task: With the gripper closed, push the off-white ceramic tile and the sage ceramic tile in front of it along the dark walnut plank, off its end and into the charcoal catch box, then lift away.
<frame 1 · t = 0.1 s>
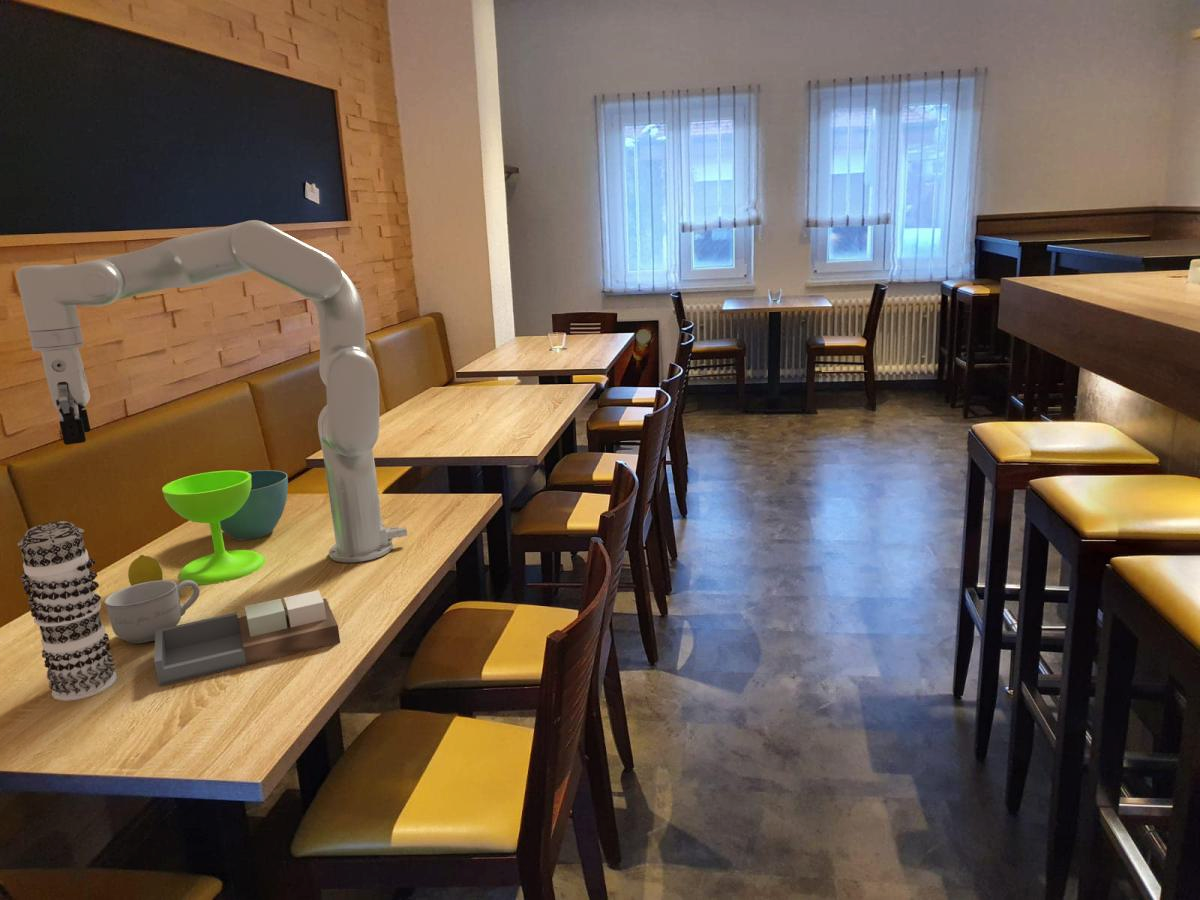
hand: (78, 437, 149), 31 cm above the table, tool pointing down, fingers open, 9 cm apart
catch box: (202, 659, 134), on the table
teacup: (160, 633, 144), on the table
wineglass: (223, 569, 171), on the table
plant pot: (252, 534, 191), on the table
white tile: (306, 616, 140), point 3 cm above the table, touching walnut plank
decorative candle: (85, 686, 128), on the table
sage tile: (267, 625, 137), point 3 cm above the table, touching walnut plank
lemon: (149, 596, 160), on the table
walnut plank: (289, 638, 139), on the table
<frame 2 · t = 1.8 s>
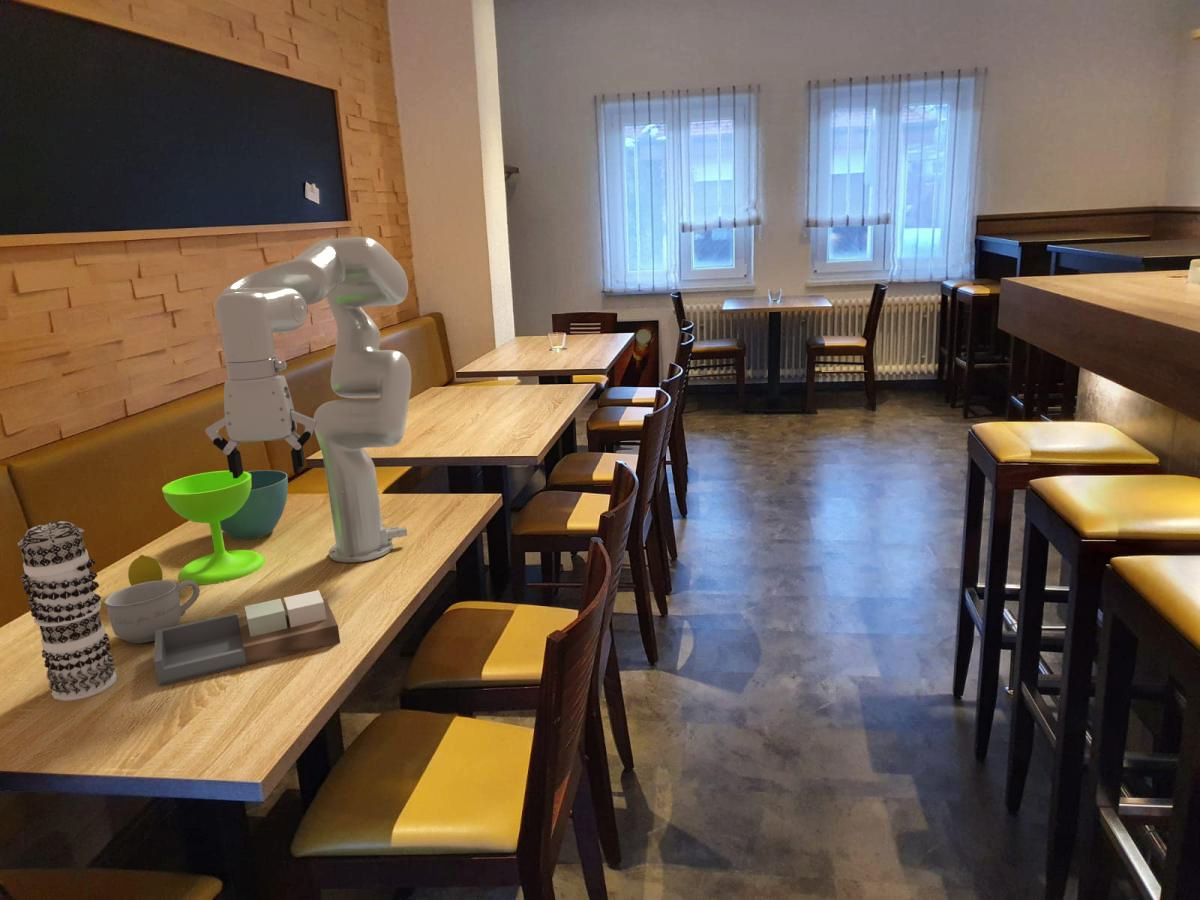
hand: (268, 473, 141), 25 cm above the table, tool pointing down, fingers open, 9 cm apart
nothing on the table moved.
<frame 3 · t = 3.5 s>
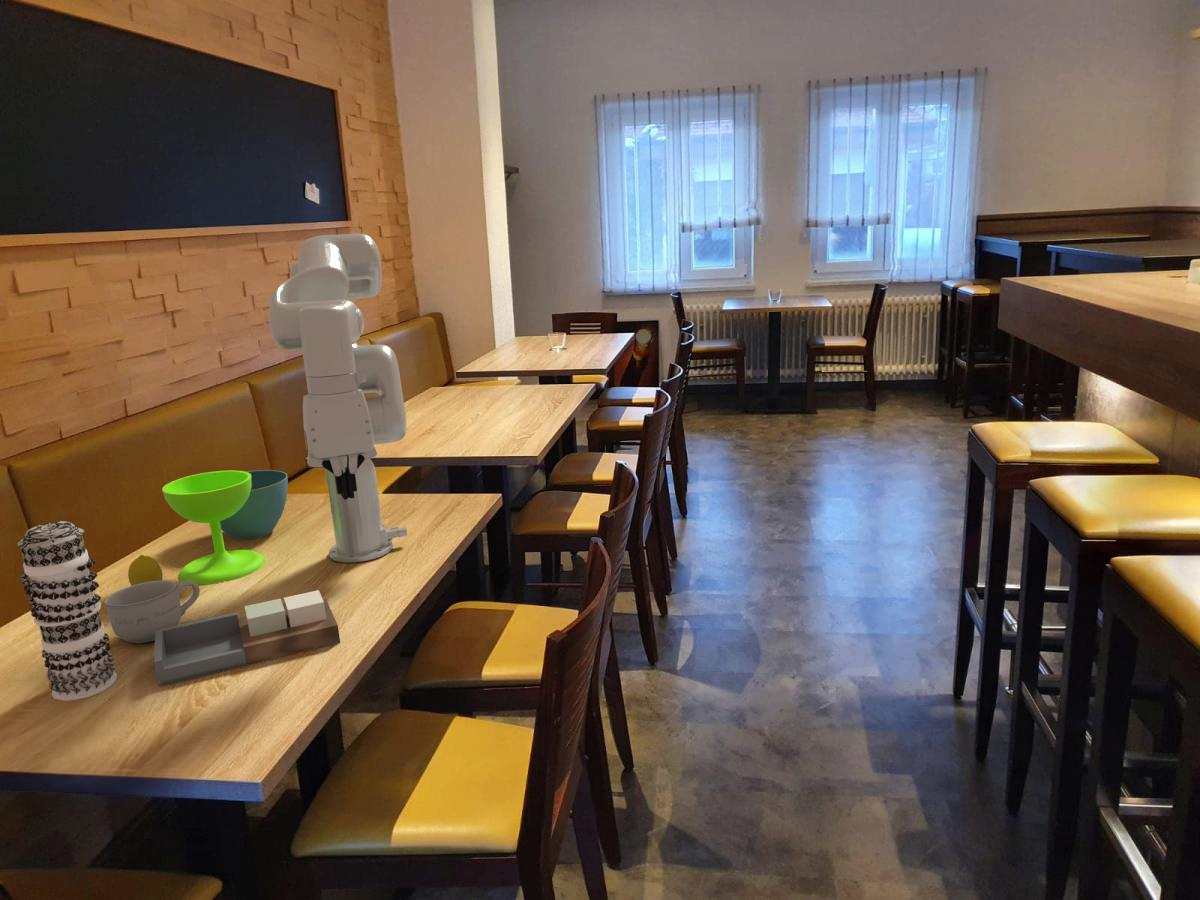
hand: (347, 496, 138), 22 cm above the table, tool pointing down, fingers closed
nothing on the table moved.
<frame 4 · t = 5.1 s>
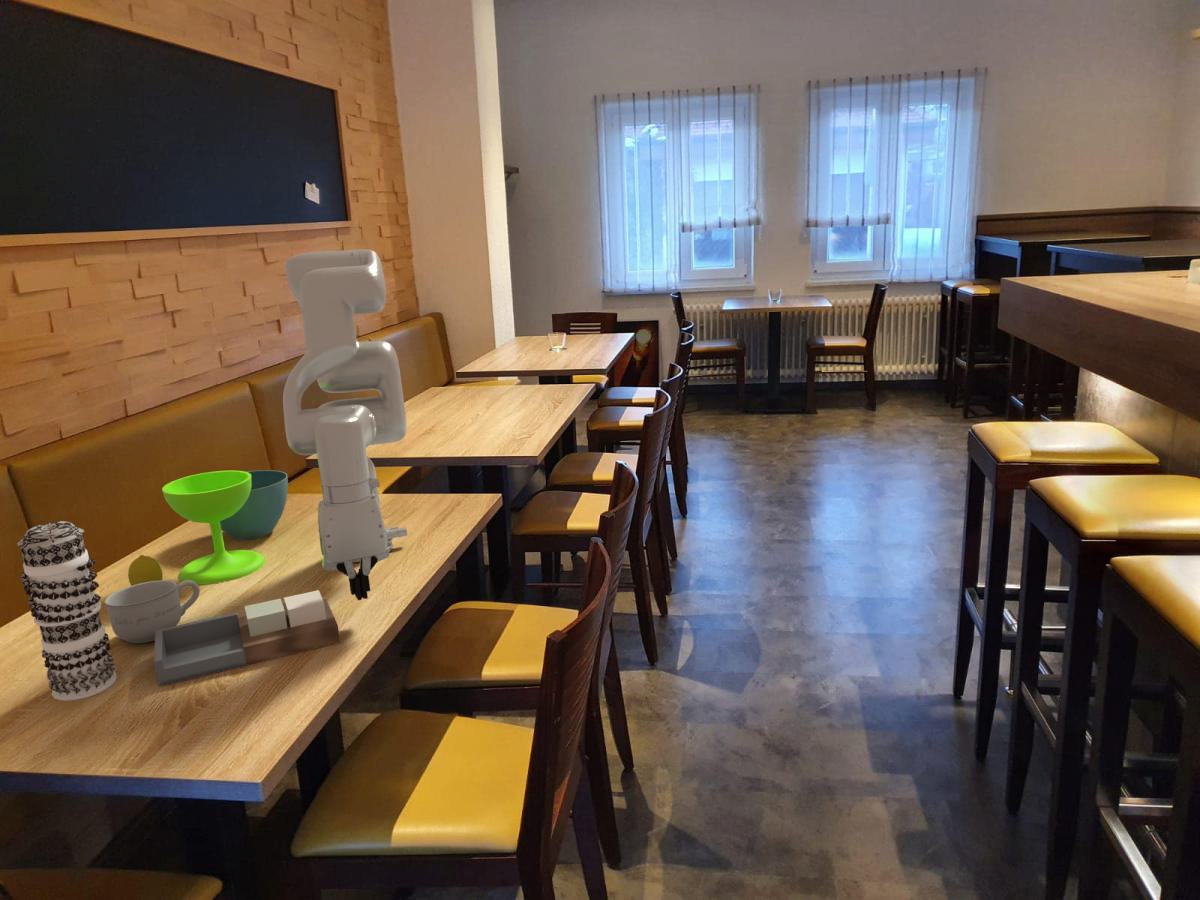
hand: (361, 596, 143), 4 cm above the table, tool pointing down, fingers closed
nothing on the table moved.
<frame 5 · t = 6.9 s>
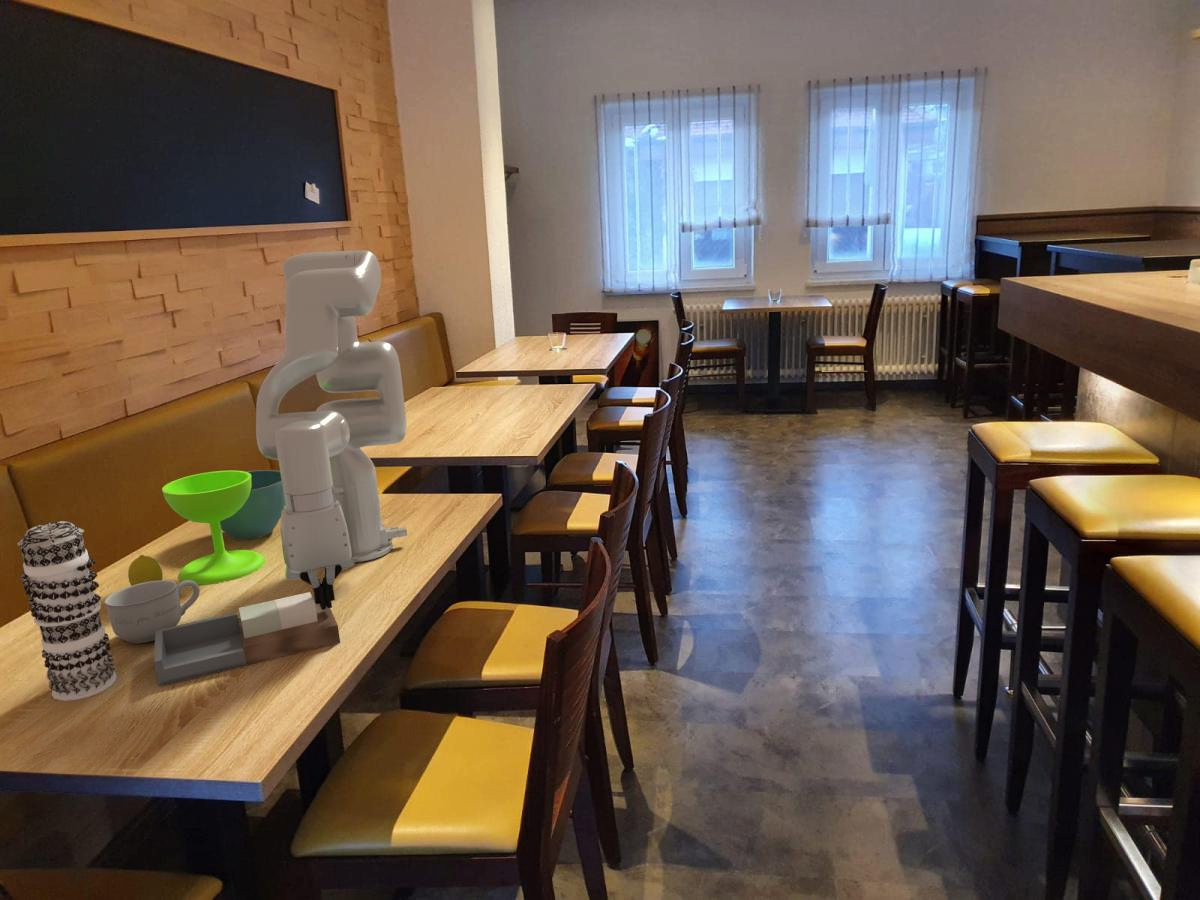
hand: (325, 605, 140), 4 cm above the table, tool pointing down, fingers closed
white tile: (297, 618, 139), point 3 cm above the table, touching gripper
sage tile: (261, 627, 137), point 3 cm above the table
everything else where it was.
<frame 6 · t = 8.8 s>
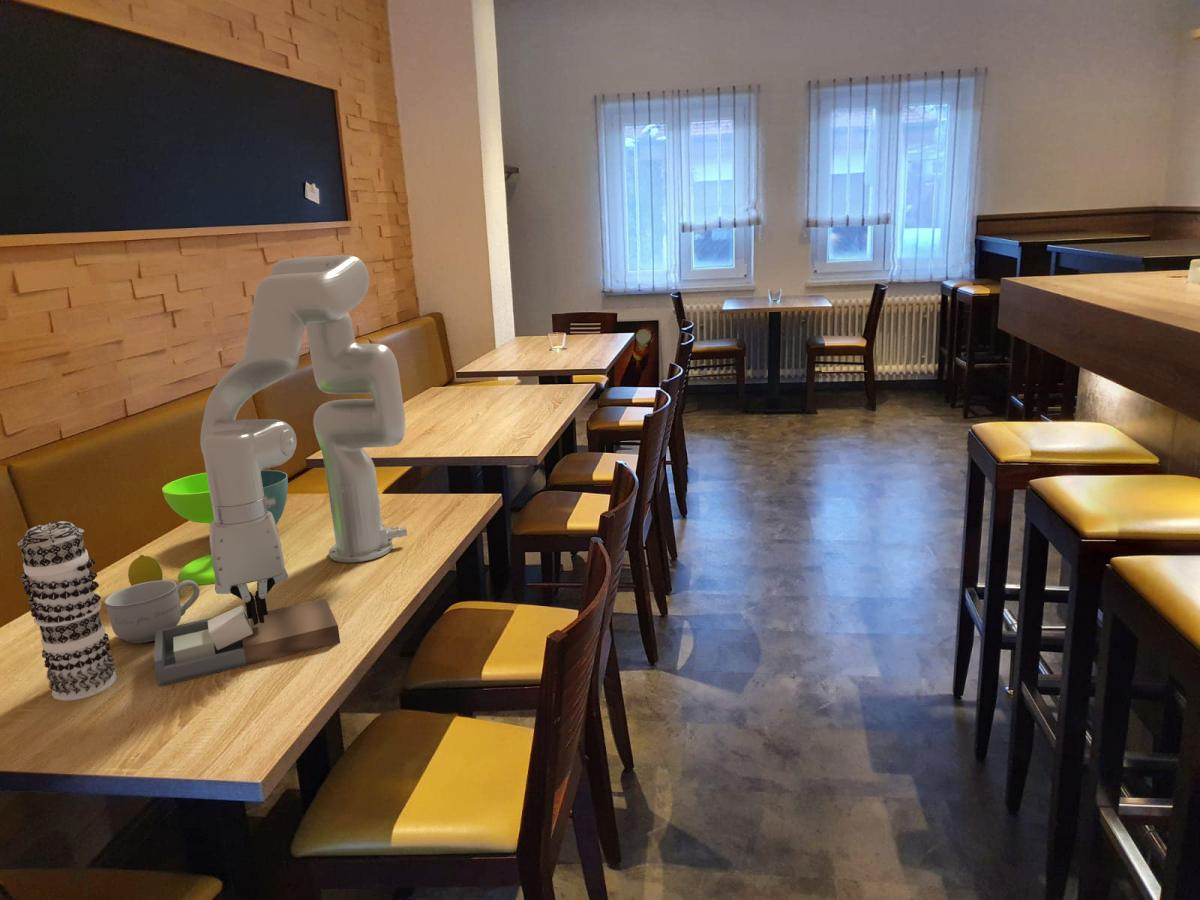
hand: (258, 620, 136), 4 cm above the table, tool pointing down, fingers closed
white tile: (234, 634, 135), point 3 cm above the table, tilted 14°, touching gripper, sage tile, walnut plank
sage tile: (196, 657, 133), point 1 cm above the table, touching catch box, white tile
everything else where it was.
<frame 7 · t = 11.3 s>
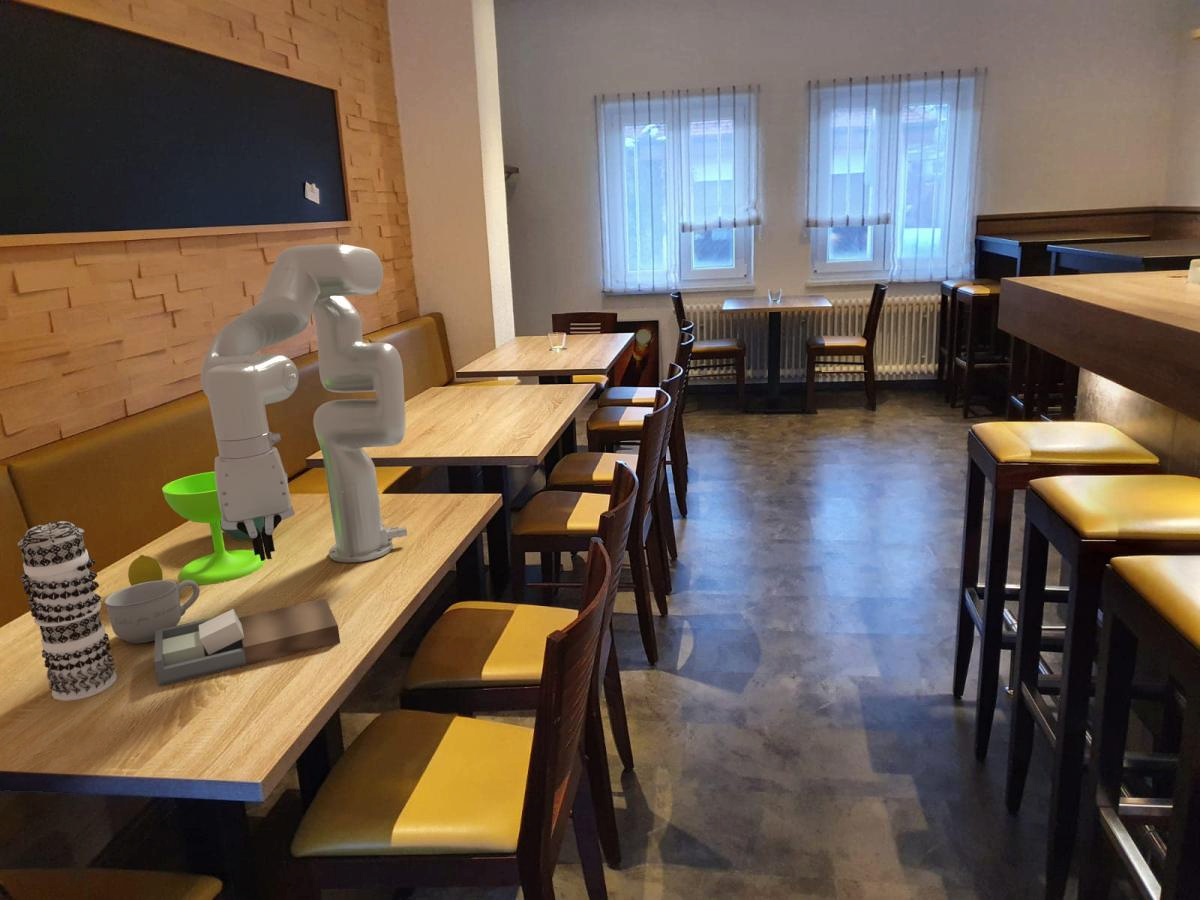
hand: (265, 556, 135), 14 cm above the table, tool pointing down, fingers closed
white tile: (225, 639, 135), point 2 cm above the table, tilted 15°, touching sage tile, walnut plank
sage tile: (186, 659, 132), point 1 cm above the table, touching catch box, white tile
everything else where it was.
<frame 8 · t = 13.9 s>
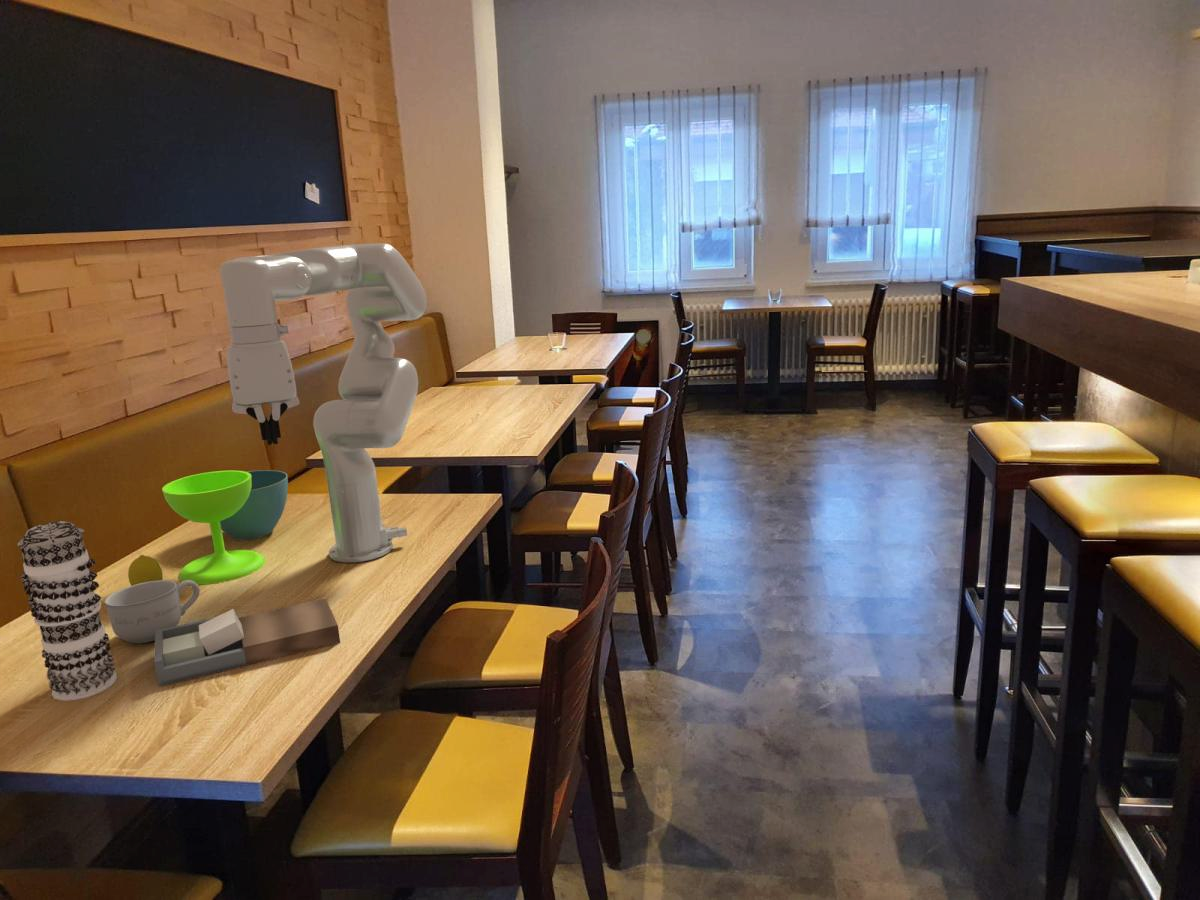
hand: (272, 442, 147), 29 cm above the table, tool pointing down, fingers closed
nothing on the table moved.
at the end: white tile inside the target area on the catch box (3.7 cm from its centre), point 2.4 cm above the catch box's base; sage tile inside the target area on the catch box (2.2 cm from its centre), point 0.6 cm above the catch box's base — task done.
